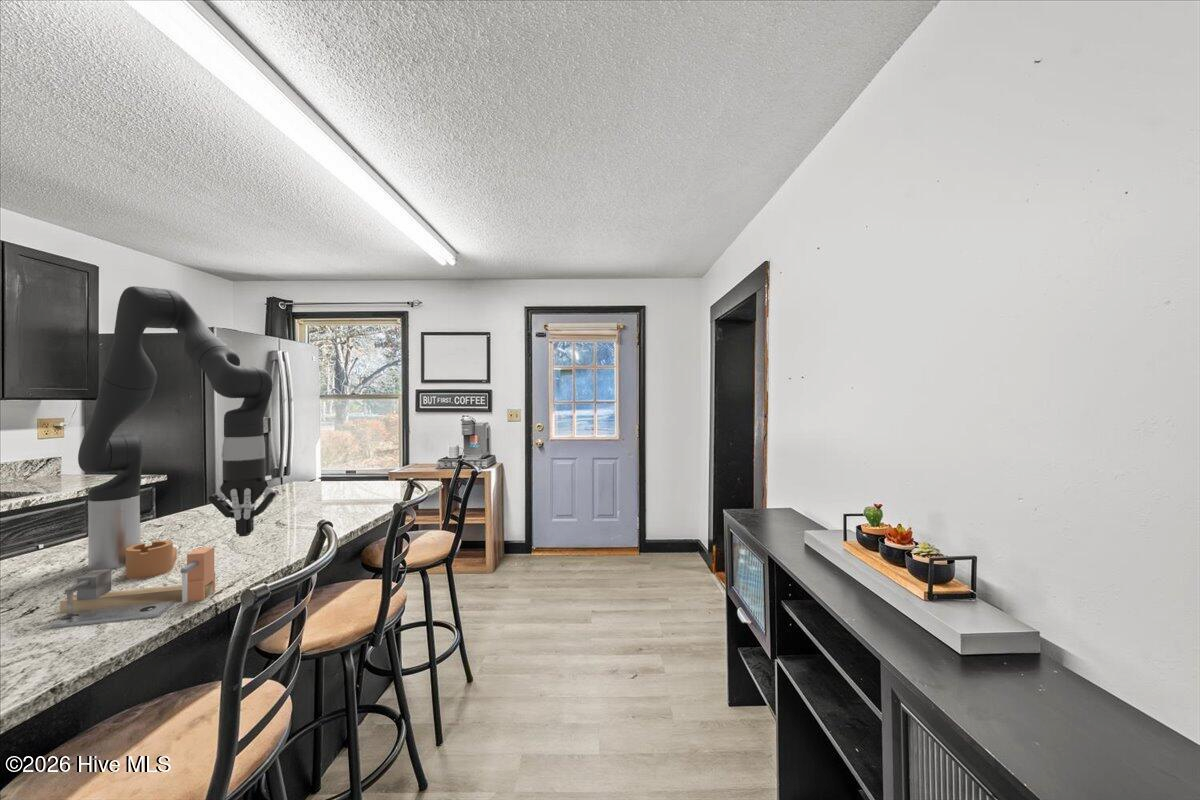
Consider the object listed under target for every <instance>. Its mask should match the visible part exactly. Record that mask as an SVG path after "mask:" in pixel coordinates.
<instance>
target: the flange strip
mask: <svg viewBox="0 0 1200 800" xmlns="http://www.w3.org/2000/svg"><path fill="white" fill-rule="evenodd" d="M175 605H176V601H167V602H157V603H147V604H137V605H128V606H118V607H108V608H98V609H88V610H77V611H73V614H72V615H67V614H66V615H65V616H62V617H61V618H59V620H56V621H55V622H53V623H52V624H50V625H49V626H50V629H56V628H57V629H58V628H67V627H76V626H83V625H84V626H85V625H93V624H94V625H95V624H102V623H104V624H105V623H112V622H113V623H114V622H123V621H125V622H126V621H131V620H132V621H133V620H142V619H153V618H158V617H160V615H163V614H164V613H165V612H166V611H168V610H169V609H171V608H172V607H174V606H175Z"/></svg>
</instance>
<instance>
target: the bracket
mask: <svg viewBox="0 0 1200 800" xmlns="http://www.w3.org/2000/svg"><path fill="white" fill-rule="evenodd" d="M173 546H174V543H173V541H172V540H167V539H165V540H154V541H152V542H151V544H149V545H146V542H142V543H141V544H136V545H133V546H130V547H128V548H126V566H125V578H126V579H132V580H135V579H137V580H139V579H146V578H152V577H157V576H160V575H163V574H167V573H169V572H171V571H172V570H173V568H175V567H174V566H175V563H176V561H177V558H178V557H177V556H178V552H177V551H178V550H177V547H173Z"/></svg>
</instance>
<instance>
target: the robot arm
mask: <svg viewBox="0 0 1200 800" xmlns="http://www.w3.org/2000/svg"><path fill="white" fill-rule="evenodd" d="M115 316H116V317H115V324H114V332H113V337H112V344H111V347H110V351H109V355H108V359H107V362H106V366H105V369H104V370H103V371H104V372H103V374H102V378H101V381H100V384H99V385H100V386H99V389H98V394H97V398H96V402H95V406H94V410H93V413H92V416H91V418H90V421H89V424H88V426H87V428H86V431H85V433H84V435H83V436H82V437H83V438H82V440H81V443H80V446H79V449H78V453H77V454H78V455H77V463H78V466H79V469H81V470H82V471H83V472H85V473H89V474H90V473H91V474H93V473H94V474H95V473H109V472H117V474H116V475H115V476H114V477H113V478H111V479H109V480H108V481H105V482H103V483H100V484H98V485H95V486H93V487H91V488H90V489H89V490H88V492H87V495H88V496H87V501H88V503H87V505H88V509H87V511H88V512H87V513H88V515H87V516H88V518H87V519H88V523H87V524H88V525H87V526H88V533H87V535H88V544H87V545H88V547H87V548H88V549H87V551H88V552H87V555H88V556H87V558H88V561H87V562H88V563H87V564H88V566H87V567H88V570H90V571H93V570H104V569H111V570H113V569H119V568H124V567H126V548H128V547H130V546H133V545H136V544H141V539H142V537H141V528H142V527H141V520H140V518H141V510H140V509H141V508H140V507H141V505H140V504H141V502H140V501H141V500H140V499H141V498H140V497H141V495H140V494H141V493H140V492H141V491H140V489H141V485H142V469H143V468H142V467H143V453H144V451H143V445H142V441H141V439H140V437H139V436H138V435H136V434H130V433H129V434H113V433H114V432H115V430H116V429H117V428H118V427H119V426H120V425H121V424H123V423H124V422H126V421H127V420H128V419H130V418H131V417H132V416H134V415H135V414H136V413H138V412H139V411H141V409H143V408H144V407H145V406H146V405H147V404H148V403H149V402H150V400H151V398H152V396H153V395H154V390H155V387H156V384H157V380H158V373H157V371H156V369H155V368H156V367H155V366H154V364H153V362H152V361H151V360H150V358H149V357H148V354H147V353H146V352H145V350H144V348H143V335H144V332H145V330H146V329H166V330H167V329H175V330H177V331H179V332H180V333H181V334H183V336H184V337H183V343H182V345H183V350H184V353H185V354H186V356H187V357H188V358H189V359H190V360H191V361H192V362H193V363H194V364H195V365H197V366H198V367H199V368H200V369H201V370H202V371H203V372H204V373H205V376H206V377H207V379H208V382H209V383H210V385H211V387H212V388H213V390H214V391H215V393H217V394H218V395H220V396H222V397H225V398H228V399H243V401H242V403H241V405H240V407H237V408H234V409H231V410H228V411H226V412H225V413H224V414H223V415H224V416H223V443H222V450H221V451H222V453H221V458H222V459H221V460H222V483H221V485H220V488H219V490H217V492H215V493H214V494H211V495H210V496H208V501H209V502H210V503H211V504H212V505H213V506H214V508H216V509H217V510H218V511H219V512H220V513H221V514H222V515H223V516H224V517H225V518H227V519H229V518H231V519H234V521H235V533H236V535H238V537H240V538H241V537H249V536H250V535H251V533H252V532H254V530H255V528H254V526H255V524H254V523H255V522H254V521H255V520H254V519H255V517H257V516H259V515H261V514H263V513H264V512H265V511H266V509H268V508H269V506H270V505H271V504H272V503H273V501H274V500H275V499H276V498H277V497H278V496H279V495H280V493H279V490H277V489H276V490H273V489H272V488H271V487H269V484H268V482H267V480H266V443H265V436H264V435H265V434H264V433H265V431H264V430H265V429H264V426H265V425H264V418H265V415H266V412H267V408H268V405H269V401H270V398H271V396H272V392H273V385H274V384H273V378H272V376H271V374H270V372H269V371H268V370H266V369H265V368H264V367H263V368H262V367H259V366H258V367H256V366H245V365H240V364H241V359H240V357H239V356H238V354H237V353H236V352H235V351H234V350H233V349H232V348H230V346H228V345H227V344H226V343H225V342H224V341H222V340H221V339H220V338H218V336H216V335H215V334H214V332H213V331H211V330H210V328H209V327H208V325H207V324H206V323H205V322H204V320H203V319H202V317H201V316H200V315H199V314H198V312H197V311H196V310H195V309H194V307H193V306H192V305H191V303H190V302H189V301H188V300H187V298H186V297H184V296H183V295H182V294H181V293H180V292H178V291H175V290H171V289H165V288H156V287H147V286H135V285H134V286H129V287H127V288H124V290H123V291H122V293H121V295H120V297H119V299H118V303H117V310H116V315H115ZM263 493H264V494H263ZM262 495H263V498H264V499H263V500H262V502H261V503H260V504H259V505H258V506H257V507H256V505H257V501H258V500H259V499H260V498H261V496H262ZM226 498H227V500H229V502H231V504H230V503H229V502H228V501H227V500H226Z"/></svg>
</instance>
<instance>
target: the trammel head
mask: <svg viewBox="0 0 1200 800" xmlns="http://www.w3.org/2000/svg"><path fill="white" fill-rule="evenodd" d="M180 574H181V585H182V600H181V603H182V604H186V603H188V602H196V601H195V600H198V601H204V600H206V598H205V586H206V585H208V584H209V583H210V582H213V593H214V592H215V591H216V571H215V546H209V547H205V546H204V547H197V548H196V549H194V550H192V551H191V552H189V553H187V554H186V565H185V566H184V567H182V568H181V569H180ZM187 601H188V602H187Z"/></svg>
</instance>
